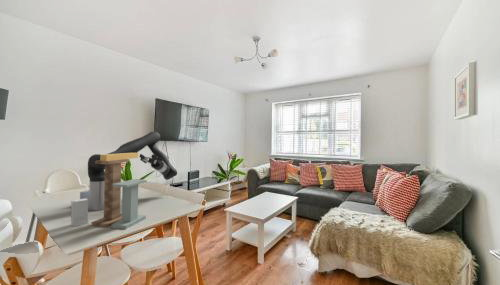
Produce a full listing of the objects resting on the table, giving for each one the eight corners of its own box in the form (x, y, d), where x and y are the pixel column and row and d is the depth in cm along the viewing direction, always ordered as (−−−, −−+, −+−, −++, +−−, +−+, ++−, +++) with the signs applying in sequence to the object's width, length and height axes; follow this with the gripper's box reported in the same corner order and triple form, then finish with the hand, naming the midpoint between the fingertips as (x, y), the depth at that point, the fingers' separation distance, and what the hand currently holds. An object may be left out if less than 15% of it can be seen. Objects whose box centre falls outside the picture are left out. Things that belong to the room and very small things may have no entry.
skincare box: (86, 221, 106) (86, 197, 106) (88, 223, 103) (88, 199, 103) (70, 224, 101) (70, 200, 101) (72, 227, 98) (72, 202, 98)
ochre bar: (100, 160, 101) (100, 154, 101) (132, 157, 123) (132, 152, 123) (106, 160, 100) (106, 154, 100) (138, 157, 122) (138, 152, 122)
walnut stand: (91, 225, 101) (92, 160, 101) (114, 215, 114) (115, 158, 114) (108, 227, 99) (110, 161, 99) (130, 216, 113) (131, 159, 113)
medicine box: (85, 206, 129) (85, 192, 129) (79, 205, 130) (79, 191, 130) (96, 202, 137) (97, 189, 137) (91, 202, 138) (91, 189, 138)
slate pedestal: (111, 227, 99) (112, 184, 99) (132, 217, 112) (133, 179, 112) (126, 229, 97) (127, 185, 97) (145, 218, 111) (146, 179, 111)
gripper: (151, 160, 149) (138, 150, 135) (169, 161, 147) (158, 150, 133) (148, 169, 145) (134, 160, 131) (166, 170, 143) (154, 161, 129)
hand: (146, 155), depth 132 cm, fingers open, 8 cm apart
